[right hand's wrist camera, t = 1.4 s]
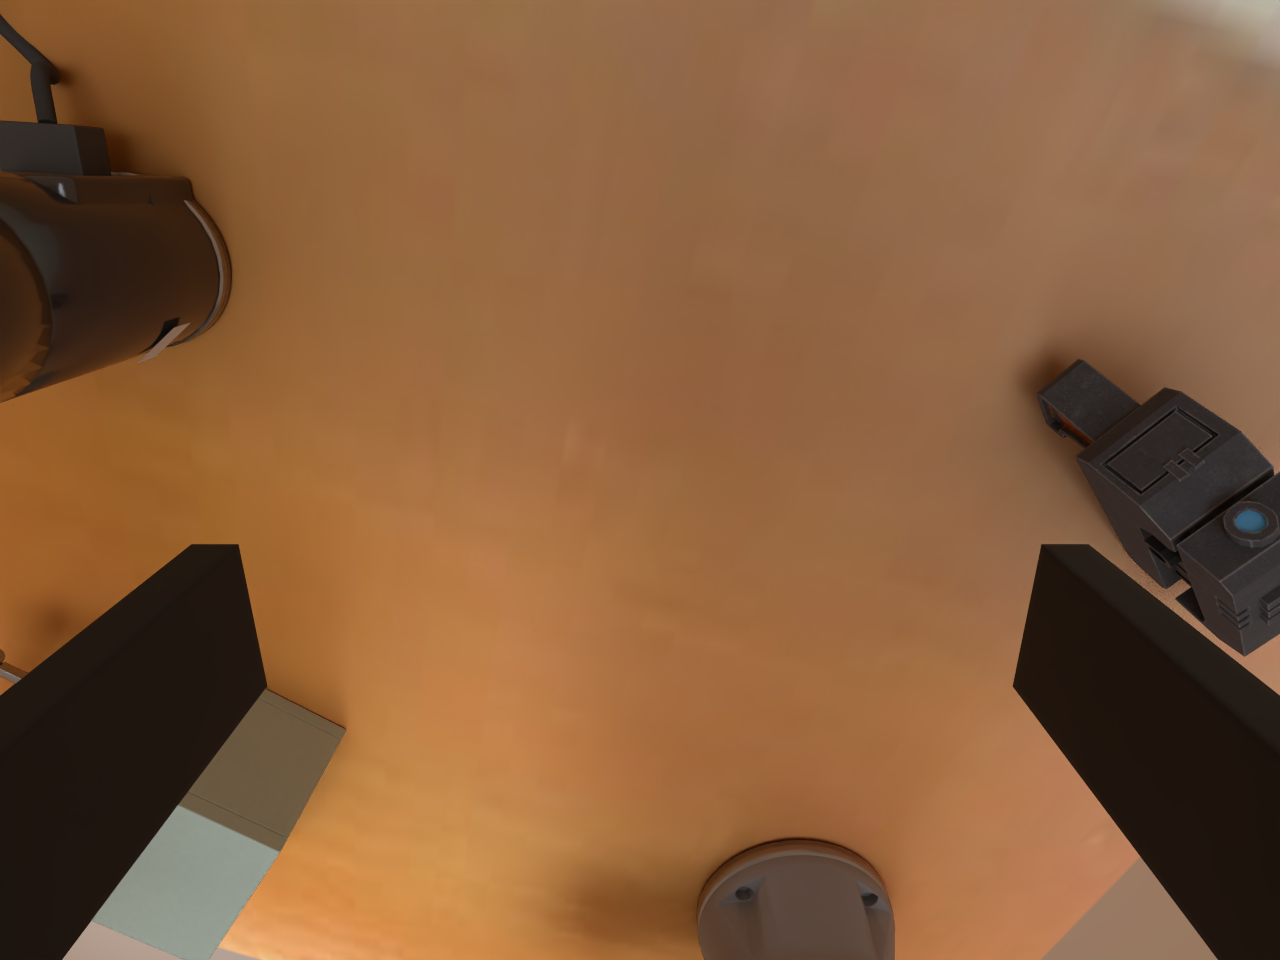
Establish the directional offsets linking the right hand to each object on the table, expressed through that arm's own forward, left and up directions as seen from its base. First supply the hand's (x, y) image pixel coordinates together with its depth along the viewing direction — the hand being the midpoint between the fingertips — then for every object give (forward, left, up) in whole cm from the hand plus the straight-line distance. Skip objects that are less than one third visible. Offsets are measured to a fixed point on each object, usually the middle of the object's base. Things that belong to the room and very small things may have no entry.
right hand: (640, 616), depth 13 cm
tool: (-9, -31, -34) cm, 47 cm away
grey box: (-33, +28, -34) cm, 55 cm away
